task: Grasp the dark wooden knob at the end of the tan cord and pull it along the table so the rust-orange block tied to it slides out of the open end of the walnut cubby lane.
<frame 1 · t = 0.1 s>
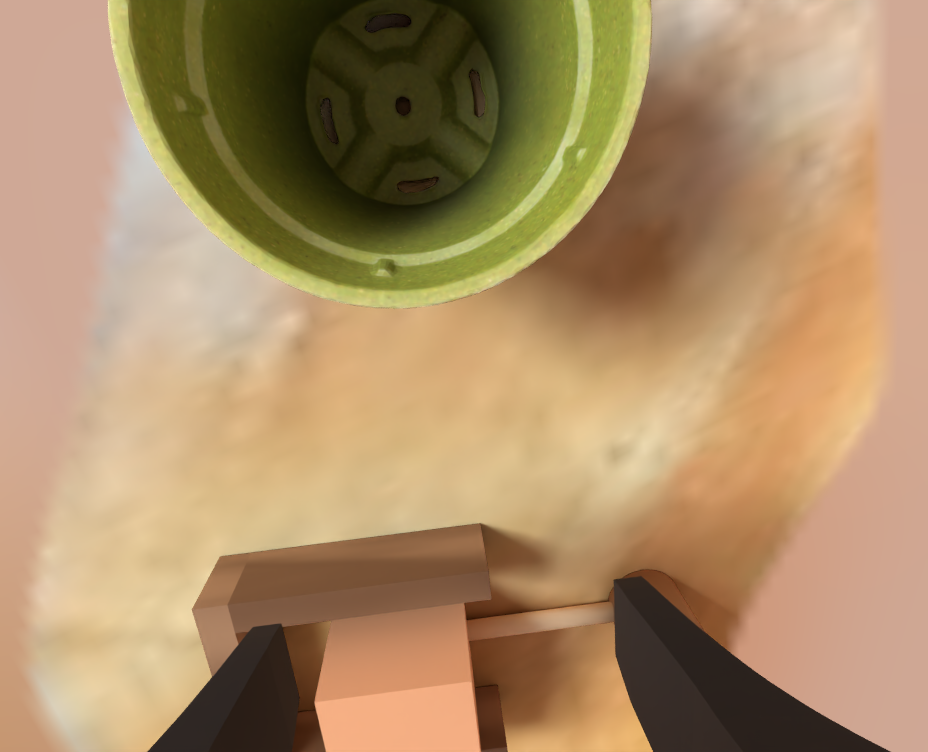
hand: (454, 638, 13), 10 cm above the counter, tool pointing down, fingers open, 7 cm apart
plant pot: (403, 104, 19), on the counter
tethered block: (407, 630, 25), on the counter
cubby lane: (383, 634, 25), on the counter
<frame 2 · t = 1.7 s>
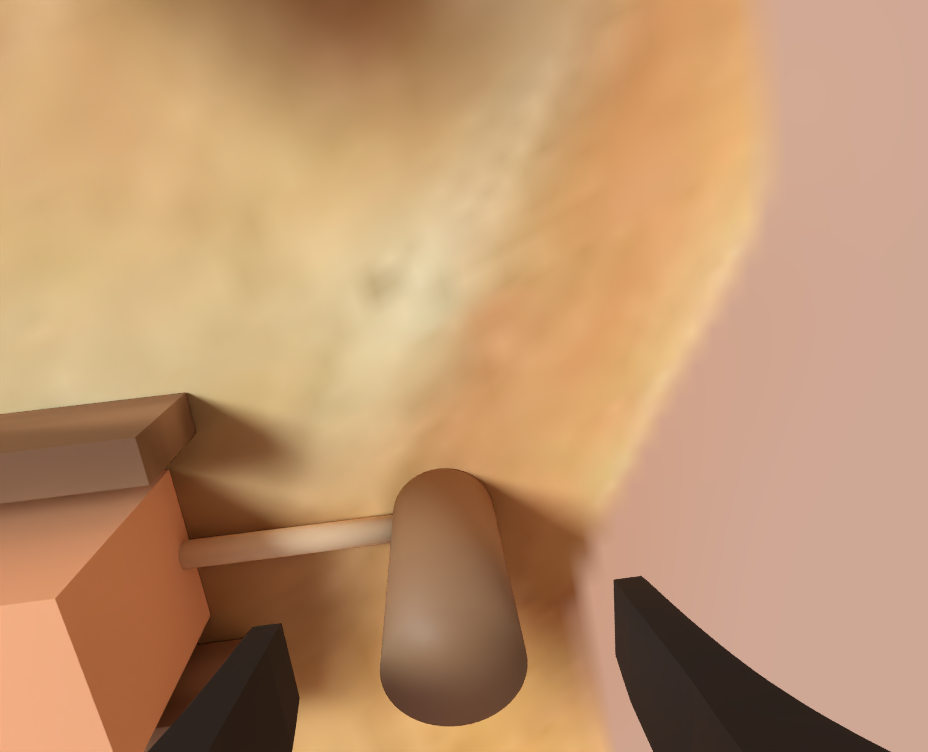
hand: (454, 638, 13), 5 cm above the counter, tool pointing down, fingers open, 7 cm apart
tethered block: (104, 556, 17), on the counter
cubby lane: (69, 561, 17), on the counter
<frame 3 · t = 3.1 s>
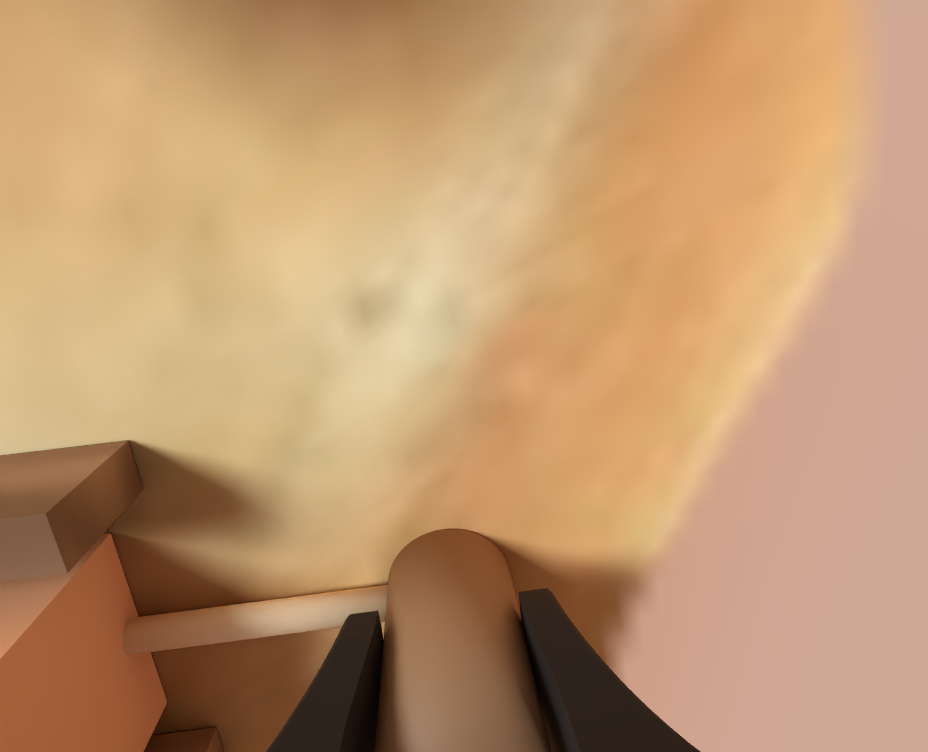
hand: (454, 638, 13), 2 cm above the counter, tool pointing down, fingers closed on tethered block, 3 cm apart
tethered block: (35, 636, 14), on the counter, touching gripper
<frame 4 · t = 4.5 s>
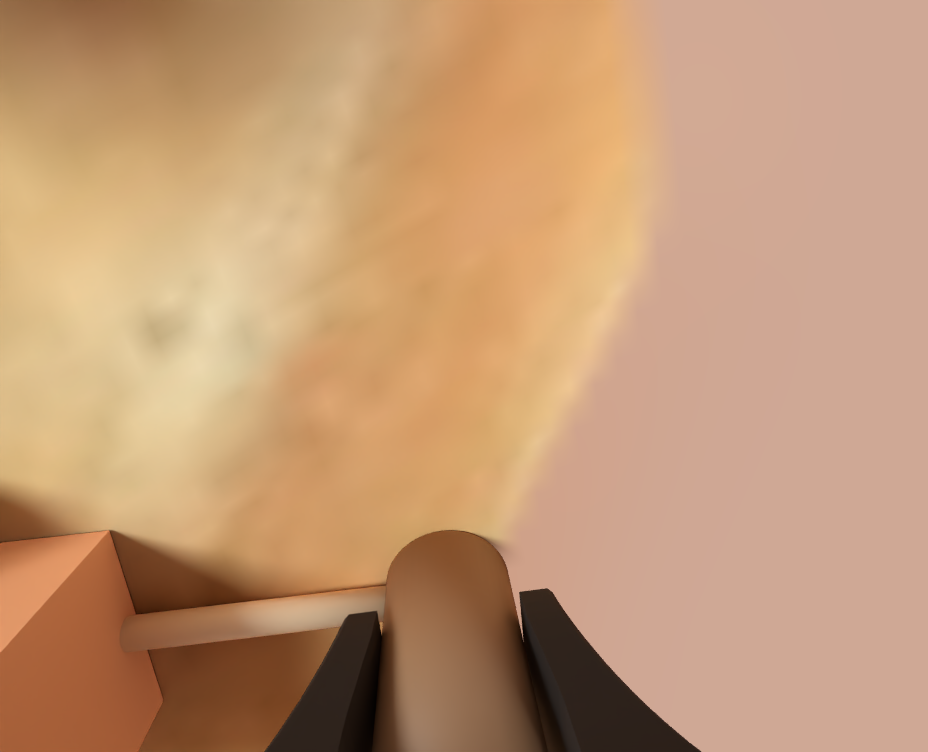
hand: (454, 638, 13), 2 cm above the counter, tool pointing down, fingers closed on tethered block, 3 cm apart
tethered block: (31, 632, 14), on the counter, touching gripper
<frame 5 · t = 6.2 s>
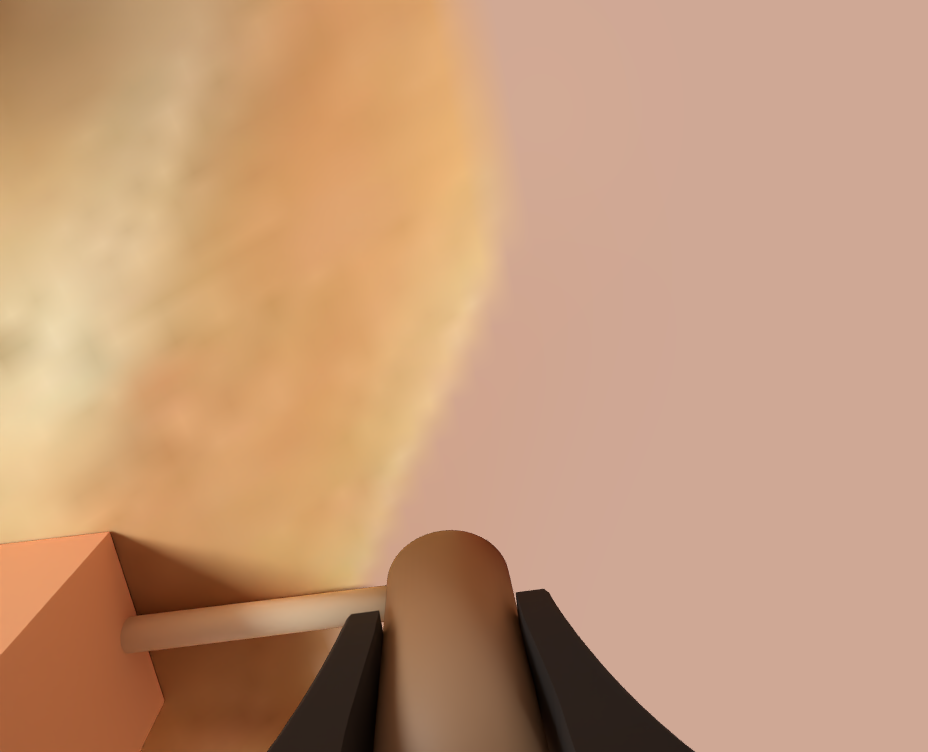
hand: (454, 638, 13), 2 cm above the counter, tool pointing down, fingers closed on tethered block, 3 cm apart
tethered block: (32, 634, 14), on the counter, touching gripper
when the fingers open (2 cm above the counter, at t = 6.4 s): tethered block stays where it is, on the counter.
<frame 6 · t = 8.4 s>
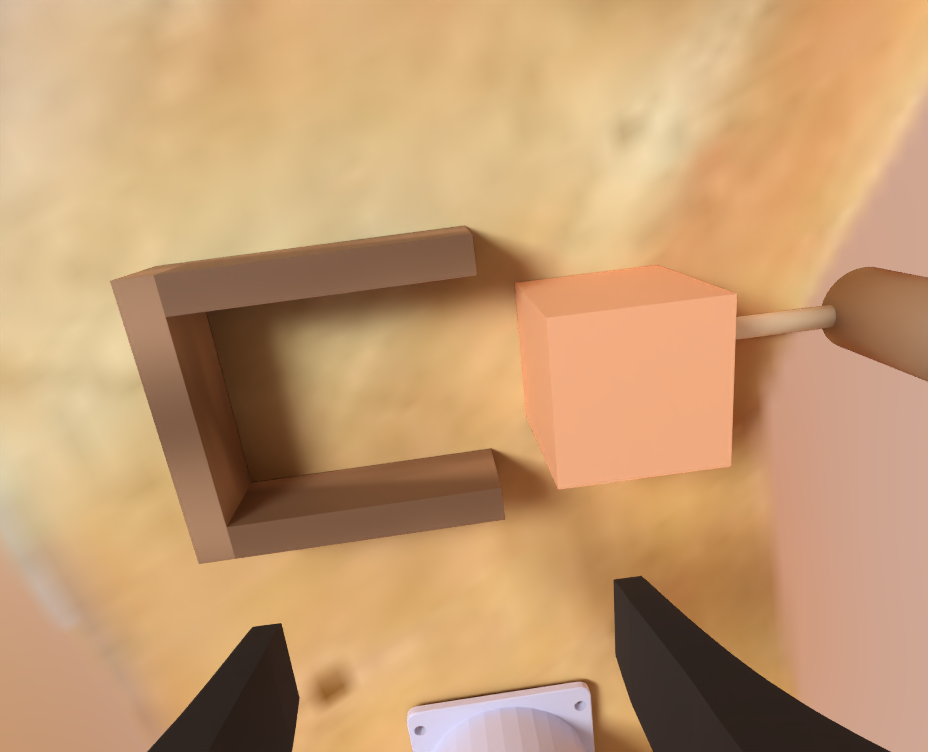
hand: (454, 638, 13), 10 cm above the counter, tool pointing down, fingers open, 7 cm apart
tethered block: (589, 343, 21), on the counter
cubby lane: (355, 377, 21), on the counter
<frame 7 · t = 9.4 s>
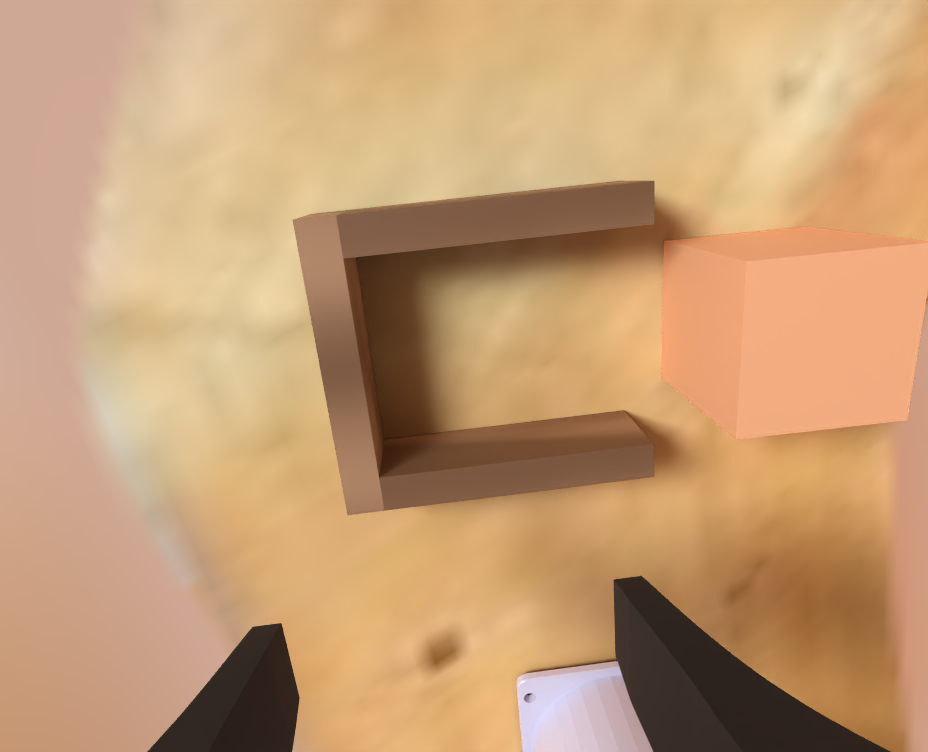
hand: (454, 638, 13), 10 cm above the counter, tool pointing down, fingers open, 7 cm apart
tethered block: (731, 304, 21), on the counter
cubby lane: (497, 333, 21), on the counter
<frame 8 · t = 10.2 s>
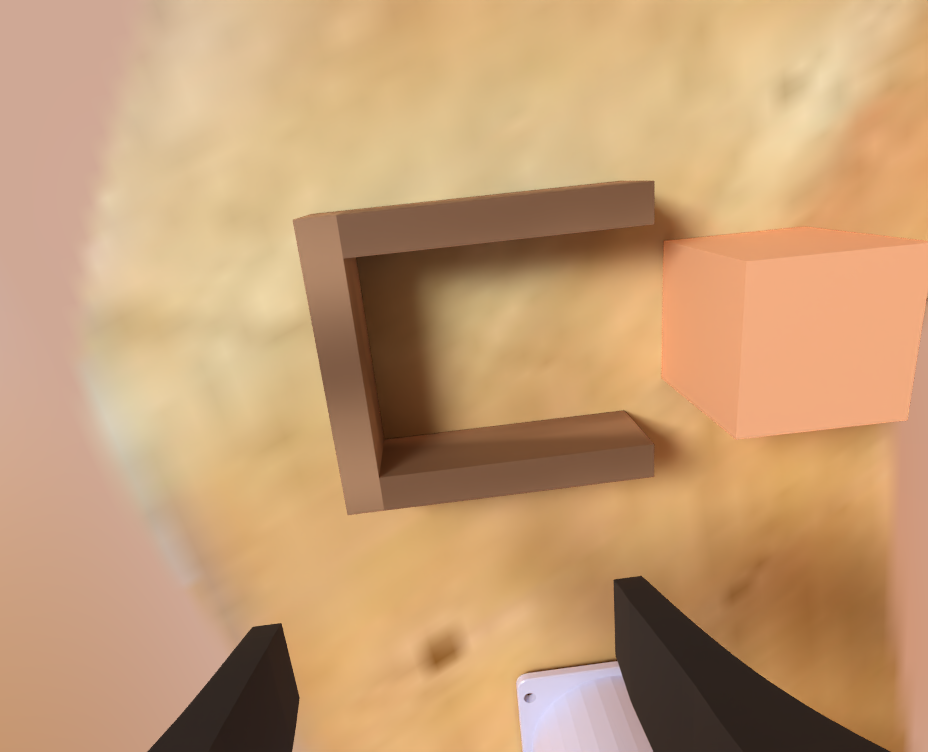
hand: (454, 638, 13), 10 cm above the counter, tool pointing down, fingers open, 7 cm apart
tethered block: (731, 304, 21), on the counter
cubby lane: (497, 333, 21), on the counter
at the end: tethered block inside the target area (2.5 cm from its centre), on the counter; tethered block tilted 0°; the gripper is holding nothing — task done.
